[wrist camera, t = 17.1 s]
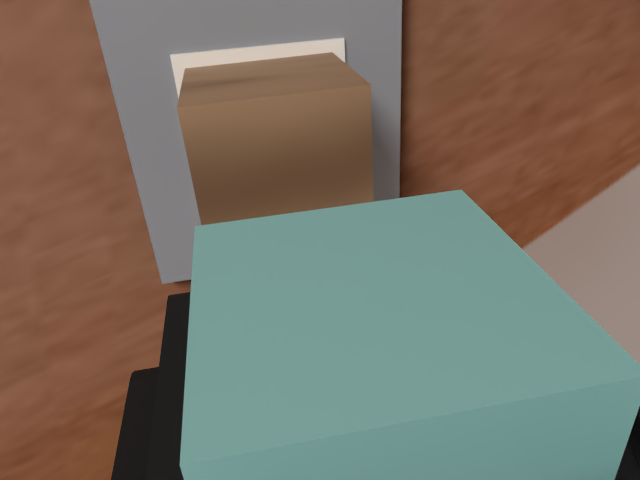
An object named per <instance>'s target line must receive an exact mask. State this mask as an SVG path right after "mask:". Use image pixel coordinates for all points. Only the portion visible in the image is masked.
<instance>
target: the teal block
mask: <svg viewBox="0 0 640 480" xmlns="http://www.w3.org/2000/svg"><path fill="white" fill-rule="evenodd" d="M639 406H640V365H639V364H638V363H637V362H636V361H635V360H634V359H633V358H632V357H631V356H630V355H629V354H628V353H627V352H626V351H625V350H624V349H623V348H622V347H621V346H620V345H619V344H618V343H617V342H616V341H615V340H614V339H613V338H612V337H611V336H609V334H608V333H607V332H606V331H605V330H603V328H602V327H601V326H600V325H599V324H598V323H596V321H594V320H593V319H592V318H591V317H590V316H589V315H588V314H587V313H586V312H585V311H584V310H583V309H582V308H581V307H580V306H579V305H578V304H577V303H576V302H575V301H574V300H573V299H572V298H571V297H570V296H569V295H568V294H567V293H566V292H565V291H564V290H563V289H562V288H561V287H560V286H559V285H558V284H557V283H556V282H555V281H554V280H553V279H552V278H551V277H550V276H549V275H548V274H547V273H546V272H545V271H544V270H542V268H541V267H539V266H538V265H537V264H536V263H535V262H534V261H533V260H532V259H531V258H530V257H529V256H528V255H527V254H526V253H525V252H524V251H523V250H522V249H521V248H520V247H519V246H518V245H517V244H516V243H515V242H514V241H513V240H512V239H511V238H510V237H509V236H508V235H507V234H506V233H505V232H504V231H503V230H502V229H501V228H500V227H499V226H498V225H497V224H496V223H495V222H494V221H493V220H492V219H491V218H490V217H489V216H488V215H487V214H486V213H485V212H484V211H483V210H482V209H481V208H479V207H478V206H477V205H476V204H475V203H474V202H473V201H472V200H471V199H470V198H469V197H468V196H467V195H466V194H465V193H464V192H463V191H462V190H455V191H448V192H440V193H433V194H426V195H419V196H411V197H404V198H397V199H390V200H382V201H375V202H368V203H360V204H353V205H346V206H339V207H331V208H324V209H317V210H310V211H302V212H295V213H288V214H281V215H273V216H266V217H259V218H251V219H244V220H237V221H230V222H222V223H215V224H208V225H201V226H195V230H194V245H193V261H192V277H191V293H190V309H189V325H188V341H187V356H186V372H185V388H184V404H183V420H182V436H181V452H180V468H181V472H182V475H183V478H184V480H615V477H616V474H617V471H618V468H619V465H620V462H621V459H622V456H623V453H624V450H625V447H626V445H627V442H628V439H629V436H630V433H631V430H632V427H633V424H634V421H635V418H636V415H637V412H638V409H639Z"/></svg>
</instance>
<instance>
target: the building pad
mask: <svg viewBox="0 0 640 480" xmlns="http://www.w3.org/2000/svg"><path fill="white" fill-rule="evenodd" d="M89 1H90V5H91V9H92V13H93V17H94V21H95V25H96V28H97V32H98V36H99V40H100V44H101V48H102V52H103V56H104V60H105V63H106V67H107V71H108V75H109V79H110V83H111V87H112V91H113V95H114V98H115V102H116V106H117V110H118V114H119V118H120V122H121V126H122V129H123V133H124V137H125V141H126V145H127V149H128V153H129V157H130V161H131V164H132V168H133V172H134V176H135V180H136V184H137V188H138V192H139V196H140V199H141V203H142V207H143V211H144V215H145V219H146V223H147V227H148V231H149V234H150V238H151V242H152V246H153V250H154V254H155V258H156V262H157V266H158V269H159V273H160V277H161V281H162V284H165V283H171V282H178V281H184V280H191V277H192V261H193V245H194V230H195V226H201V221H200V216H199V212H198V207H197V202H196V197H195V192H194V188H193V183H192V178H191V173H190V169H189V164H188V159H187V154H186V149H185V145H184V140H183V135H182V130H181V126H180V121H179V116H178V111H177V104H178V99H179V94H180V89H181V85H182V80H183V75H184V70H185V68H193V67H203V66H212V65H221V64H230V63H239V62H248V61H257V60H266V59H275V58H284V57H293V56H302V55H311V54H320V53H330V52H333V53H334V54H335V55H336V56H337V57H339V58H340V59H341V60H342V61H343V62H345V63H346V64H347V65H348V66H349V67H351V68H352V69H353V70H354V71H355V72H357V73H358V74H359V75H360V76H361V77H362V78H364V79H365V80H366V81H367V82H368V83H370V84H371V112H372V154H373V197H374V202H375V201H382V200H390V199H397V198H400V118H401V38H402V0H89Z"/></svg>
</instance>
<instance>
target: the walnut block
mask: <svg viewBox="0 0 640 480" xmlns="http://www.w3.org/2000/svg"><path fill="white" fill-rule="evenodd" d="M177 111H178V116H179V121H180V126H181V130H182V135H183V140H184V145H185V149H186V154H187V159H188V164H189V169H190V173H191V178H192V183H193V188H194V192H195V197H196V202H197V207H198V212H199V216H200V221H201V225H208V224H215V223H222V222H230V221H237V220H244V219H251V218H259V217H266V216H273V215H281V214H288V213H295V212H302V211H310V210H317V209H324V208H331V207H339V206H346V205H353V204H360V203H368V202H374V197H373V154H372V112H371V84H370V83H368V82H367V81H366V80H365V79H364V78H362V77H361V76H360V75H359V74H358V73H357V72H355V71H354V70H353V69H352V68H351V67H349V66H348V65H347V64H346V63H345V62H343V61H342V60H341V59H340V58H339V57H337V56H336V55H335V54H334V53H333V52H330V53H320V54H311V55H302V56H293V57H284V58H275V59H266V60H257V61H248V62H239V63H230V64H221V65H212V66H203V67H193V68H185V70H184V75H183V80H182V85H181V89H180V94H179V99H178V104H177Z"/></svg>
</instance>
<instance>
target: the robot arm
mask: <svg viewBox="0 0 640 480" xmlns="http://www.w3.org/2000/svg"><path fill="white" fill-rule="evenodd" d="M190 293H191V292H188V293H181V294H175V295H169V296H168V300H167V308H166V316H165V323H164V331H163V339H162V347H161V355H160V363H159V367H156V368H150V369H144V370H138V371H134V372H133V373H132V375H131V378H130V382H129V388H128V393H127V398H126V403H125V409H124V414H123V419H122V425H121V430H120V435H119V441H118V446H117V451H116V456H115V462H114V467H113V472H112V478H111V480H184V478H183V475H182V472H181V468H180V452H181V436H182V420H183V404H184V388H185V372H186V356H187V341H188V325H189V309H190ZM615 480H640V406H639V409H638V412H637V415H636V418H635V421H634V424H633V427H632V430H631V433H630V436H629V439H628V442H627V445H626V447H625V450H624V453H623V456H622V459H621V462H620V465H619V468H618V471H617V474H616V477H615Z"/></svg>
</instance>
